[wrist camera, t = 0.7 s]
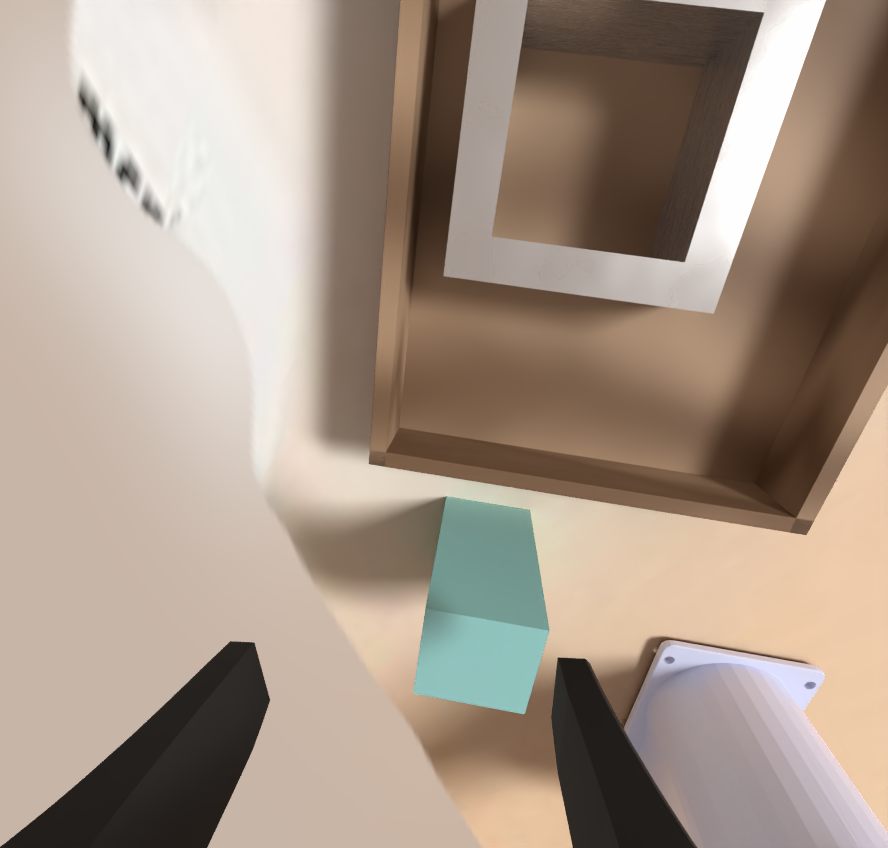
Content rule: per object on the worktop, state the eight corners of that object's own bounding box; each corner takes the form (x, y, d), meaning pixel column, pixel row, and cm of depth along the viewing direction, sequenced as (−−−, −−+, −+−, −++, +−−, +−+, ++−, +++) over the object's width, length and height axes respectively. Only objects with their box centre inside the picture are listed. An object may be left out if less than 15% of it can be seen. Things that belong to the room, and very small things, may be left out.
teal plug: (513, 576, 21) (524, 714, 15) (436, 563, 21) (413, 693, 15) (529, 510, 20) (549, 630, 13) (446, 496, 20) (425, 608, 14)
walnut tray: (749, 486, 18) (806, 534, 15) (389, 429, 19) (368, 464, 16) (1006, -76, 12) (1209, -209, 8) (437, -129, 12) (418, -269, 9)
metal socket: (672, 304, 15) (714, 313, 12) (451, 273, 15) (443, 276, 13) (762, 19, 12) (845, -54, 9) (487, -10, 12) (486, -89, 10)
